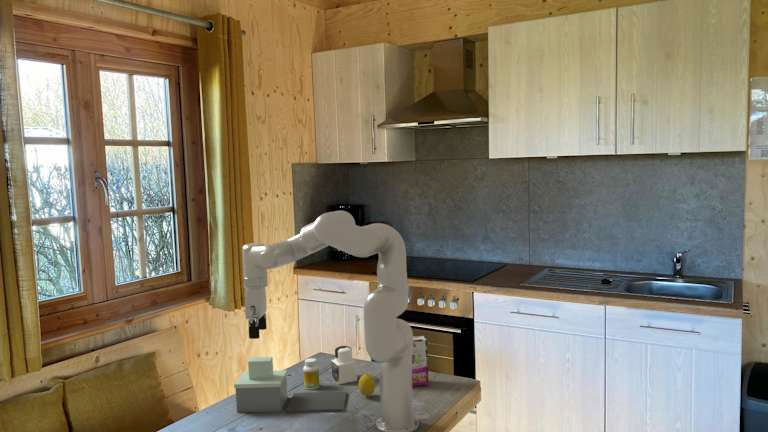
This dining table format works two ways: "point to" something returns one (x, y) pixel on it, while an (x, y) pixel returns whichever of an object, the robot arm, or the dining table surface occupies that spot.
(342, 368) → the medicine bottle
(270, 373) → the lid
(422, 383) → the candy bar box
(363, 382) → the lemon
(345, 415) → the dining table surface
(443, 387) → the dining table surface
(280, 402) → the storage box
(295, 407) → the mat
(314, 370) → the supplement bottle
